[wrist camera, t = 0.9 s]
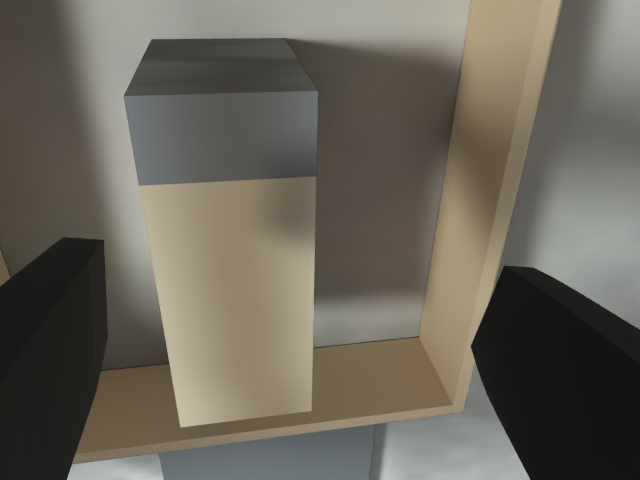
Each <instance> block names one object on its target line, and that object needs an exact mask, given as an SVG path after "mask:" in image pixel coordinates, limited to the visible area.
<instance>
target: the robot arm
mask: <svg viewBox="0 0 640 480" xmlns="http://www.w3.org/2000/svg"><path fill="white" fill-rule="evenodd" d="M107 338H108V331H107V306H106V282H105V257H104V240H97V239H81V238H65V237H63V238H62V239H60V240H59V241H58V242H56V243H55V244H54V245H52V246H51V247H50V248H49V249H47V250H46V251H45V252H43V253H42V254H41V255H39V256H38V257H37V258H36V259H34V260H33V261H32V262H31V263H29V264H28V265H27V266H25V267H24V268H23V269H22V270H20V271H19V272H18V273H17V274H15V275H14V276H13V277H11V278H10V279H9V280H8V281H6V282H5V283H4V284H2V285H1V286H0V480H67V477H68V474H69V471H70V468H71V465H72V462H73V460H74V457H75V454H76V451H77V448H78V445H79V442H80V439H81V436H82V433H83V430H84V427H85V424H86V421H87V418H88V415H89V412H90V409H91V406H92V403H93V400H94V397H95V394H96V391H97V387H98V382H99V377H100V373H101V368H102V363H103V358H104V353H105V348H106V343H107ZM471 349H472V353H473V356H474V359H475V362H476V365H477V368H478V371H479V374H480V377H481V380H482V382H483V385H484V388H485V390H486V393H487V395H488V397H489V399H490V401H491V404H492V406H493V408H494V410H495V412H496V414H497V416H498V418H499V420H500V421H501V423H502V425H503V427H504V429H505V431H506V433H507V435H508V437H509V439H510V441H511V443H512V445H513V447H514V449H515V451H516V453H517V455H518V457H519V458H520V460H521V462H522V464H523V466H524V468H525V470H526V472H527V474H528V476H529V478H530V480H640V330H639V329H638V328H636V327H634V326H633V325H631V324H629V323H628V322H626V321H624V320H623V319H621V318H620V317H618V316H616V315H615V314H613V313H611V312H610V311H608V310H607V309H605V308H603V307H602V306H600V305H598V304H597V303H595V302H594V301H592V300H590V299H589V298H587V297H585V296H584V295H582V294H580V293H579V292H577V291H575V290H574V289H572V288H570V287H569V286H567V285H565V284H563V283H562V282H560V281H558V280H556V279H555V278H553V277H551V276H549V275H547V274H545V273H543V272H541V271H539V270H537V269H535V268H531V267H516V266H504V268H503V270H502V272H501V275H500V277H499V280H498V282H497V284H496V287H495V289H494V291H493V294H492V296H491V299H490V301H489V303H488V306H487V308H486V311H485V313H484V315H483V318H482V320H481V323H480V325H479V327H478V330H477V332H476V334H475V337H474V339H473V342H472V344H471Z"/></svg>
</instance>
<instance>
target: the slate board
mask: <svg viewBox="0 0 640 480" xmlns="http://www.w3.org/2000/svg"><path fill="white" fill-rule="evenodd" d="M374 431H375V424H371V425H363V426H356V427H348V428H341V429H333V430H326V431H318V432H311V433H303V434H296V435H288V436H281V437H273V438H266V439H258V440H251V441H243V442H236V443H228V444H221V445H213V446H206V447H198V448H191V449H183V450H176V451H168V452H161V453H159V457H160V462H161V467H162V471H163V476H164V480H369V474H370V466H371V457H372V448H373V439H374Z"/></svg>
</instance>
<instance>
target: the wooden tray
mask: <svg viewBox="0 0 640 480" xmlns="http://www.w3.org/2000/svg"><path fill="white" fill-rule="evenodd" d="M562 4H563V0H472V4H471V10H470V17H469V23H468V29H467V36H466V42H465V49H464V55H463V61H462V68H461V74H460V80H459V87H458V93H457V99H456V106H455V112H454V118H453V125H452V131H451V137H450V144H449V150H448V156H447V163H446V169H445V175H444V182H443V188H442V194H441V201H440V207H439V213H438V220H437V226H436V233H435V239H434V245H433V252H432V258H431V264H430V271H429V277H428V283H427V290H426V296H425V302H424V309H423V315H422V321H421V328H420V334H419V337H416V338H406V339H397V340H387V341H378V342H369V343H359V344H350V345H341V346H331V347H322V348H313V366H312V411H307V412H299V413H291V414H283V415H275V416H267V417H259V418H251V419H244V420H236V421H228V422H220V423H212V424H204V425H196V426H188V427H180V422H179V416H178V410H177V404H176V398H175V393H174V387H173V381H172V375H171V369H170V364H163V365H154V366H144V367H135V368H126V369H116V370H107V371H101V373H100V377H99V382H98V387H97V391H96V394H95V397H94V400H93V403H92V406H91V409H90V412H89V415H88V418H87V421H86V424H85V427H84V430H83V433H82V436H81V439H80V442H79V445H78V448H77V451H76V454H75V457H74V460H73V462H72V464H78V463H86V462H93V461H101V460H108V459H116V458H123V457H131V456H138V455H146V454H153V453H161V452H168V451H176V450H183V449H191V448H198V447H206V446H213V445H221V444H228V443H236V442H243V441H251V440H258V439H266V438H273V437H281V436H288V435H296V434H303V433H311V432H318V431H326V430H333V429H341V428H348V427H356V426H363V425H371V424H378V423H386V422H393V421H401V420H409V419H416V418H424V417H431V416H439V415H446V414H454V413H461V412H463V410H464V406H465V402H466V397H467V393H468V389H469V385H470V380H471V376H472V372H473V368H474V364H475V359H474V356H473V353H472V349H471V344H472V342H473V339H474V337H475V334H476V332H477V330H478V327H479V325H480V323H481V320H482V318H483V315H484V313H485V311H486V308H487V306H488V303H489V301H490V299H491V296H492V294H493V291H494V288H495V284H496V279H497V275H498V271H499V267H500V263H501V259H502V254H503V250H504V246H505V242H506V238H507V234H508V229H509V225H510V221H511V217H512V213H513V209H514V204H515V200H516V196H517V192H518V188H519V184H520V179H521V175H522V171H523V167H524V163H525V159H526V154H527V150H528V146H529V142H530V138H531V134H532V129H533V125H534V121H535V117H536V113H537V109H538V104H539V100H540V96H541V92H542V88H543V84H544V79H545V75H546V71H547V67H548V63H549V59H550V54H551V50H552V46H553V42H554V38H555V34H556V29H557V25H558V21H559V17H560V13H561V9H562ZM9 279H10V275H9V272H8V269H7V267H6V264H5V261H4V258H3V255H2V252H1V249H0V286H1V285H2V284H4V283H5V282H6V281H8V280H9Z"/></svg>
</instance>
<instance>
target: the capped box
mask: <svg viewBox="0 0 640 480" xmlns="http://www.w3.org/2000/svg"><path fill="white" fill-rule="evenodd" d="M124 101H125V107H126V113H127V119H128V124H129V130H130V136H131V142H132V148H133V154H134V159H135V165H136V171H137V177H138V183H139V188H140V194H141V200H142V206H143V212H144V218H145V223H146V229H147V235H148V241H149V247H150V253H151V258H152V264H153V270H154V276H155V282H156V288H157V293H158V299H159V305H160V311H161V317H162V323H163V328H164V334H165V340H166V346H167V352H168V358H169V363H170V369H171V375H172V381H173V387H174V393H175V398H176V404H177V410H178V416H179V422H180V427H188V426H196V425H204V424H212V423H220V422H228V421H236V420H244V419H251V418H259V417H267V416H275V415H283V414H291V413H299V412H307V411H312V366H313V317H314V268H315V220H316V171H317V122H318V90H317V88H316V87H315V85H314V84H313V82H312V80H311V79H310V77H309V76H308V74H307V73H306V71H305V69H304V68H303V66H302V65H301V63H300V62H299V60H298V58H297V57H296V55H295V54H294V52H293V50H292V49H291V47H290V46H289V44H288V43H287V41H286V39H285V38H259V39H158V40H151V42H150V44H149V46H148V48H147V50H146V52H145V54H144V56H143V58H142V60H141V62H140V64H139V66H138V68H137V70H136V72H135V74H134V76H133V78H132V80H131V82H130V84H129V86H128V88H127V90H126V92H125V94H124Z"/></svg>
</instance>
